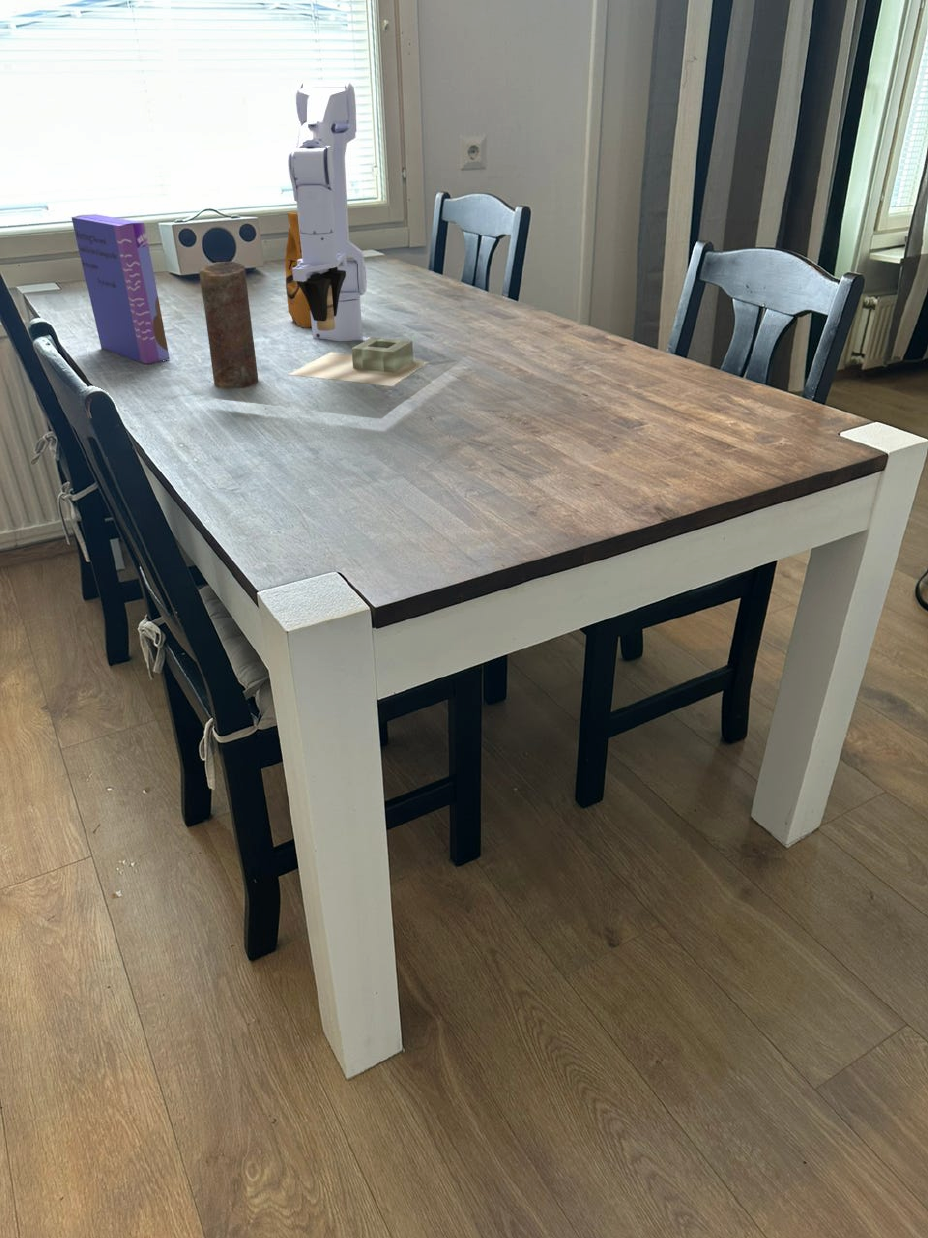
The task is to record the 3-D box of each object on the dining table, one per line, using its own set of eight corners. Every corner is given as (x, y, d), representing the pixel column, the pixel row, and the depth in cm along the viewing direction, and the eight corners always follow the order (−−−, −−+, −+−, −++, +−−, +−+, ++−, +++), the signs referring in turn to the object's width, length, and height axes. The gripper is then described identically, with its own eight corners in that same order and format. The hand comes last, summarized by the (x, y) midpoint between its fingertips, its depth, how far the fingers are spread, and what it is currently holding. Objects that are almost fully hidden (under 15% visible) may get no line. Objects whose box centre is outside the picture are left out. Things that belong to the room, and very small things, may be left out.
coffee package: (285, 320, 190) (273, 209, 179) (339, 313, 195) (330, 205, 183) (299, 329, 183) (287, 215, 171) (355, 322, 188) (347, 211, 176)
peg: (314, 329, 148) (309, 286, 144) (322, 325, 151) (318, 282, 147) (329, 330, 147) (325, 287, 143) (338, 326, 150) (334, 284, 146)
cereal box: (169, 359, 164) (143, 221, 152) (147, 364, 162) (118, 224, 149) (123, 343, 175) (95, 212, 162) (101, 348, 172) (71, 215, 159)
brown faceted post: (269, 386, 150) (252, 262, 139) (246, 399, 144) (228, 270, 133) (230, 382, 152) (211, 260, 141) (206, 394, 146) (185, 268, 135)
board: (288, 382, 151) (285, 353, 148) (330, 360, 163) (328, 333, 160) (393, 394, 145) (391, 364, 142) (428, 370, 156) (427, 342, 154)
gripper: (317, 224, 148) (325, 307, 155) (271, 237, 136) (282, 326, 144) (354, 226, 146) (360, 310, 153) (311, 239, 134) (319, 329, 141)
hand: (325, 318), depth 148 cm, fingers closed on peg, 3 cm apart
